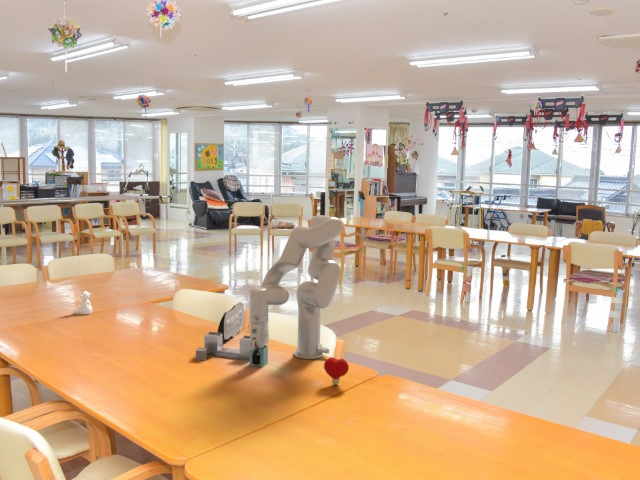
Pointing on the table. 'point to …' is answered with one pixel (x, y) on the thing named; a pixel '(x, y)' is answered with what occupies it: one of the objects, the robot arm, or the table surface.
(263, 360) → the module
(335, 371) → the light bulb
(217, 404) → the table surface
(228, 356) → the board
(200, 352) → the block
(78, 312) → the white creature statuette
